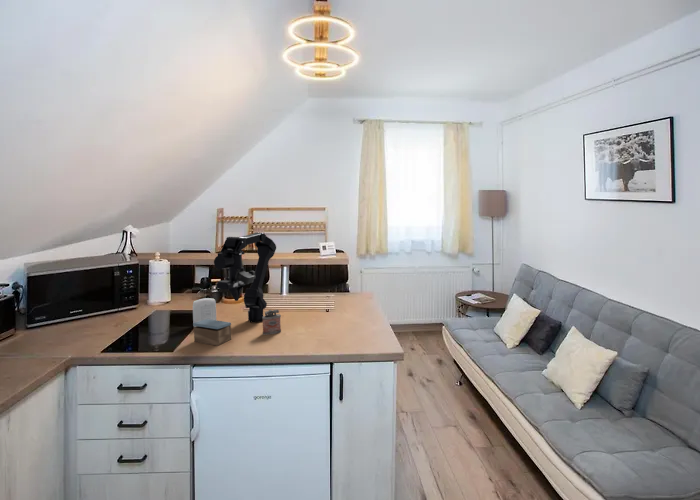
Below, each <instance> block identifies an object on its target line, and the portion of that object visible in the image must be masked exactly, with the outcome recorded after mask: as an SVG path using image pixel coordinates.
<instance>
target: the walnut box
mask: <svg viewBox="0 0 700 500" xmlns="http://www.w3.org/2000/svg"><path fill="white" fill-rule="evenodd" d="M231 325H232V324H231ZM231 325H229V326H226V327H223V328H220V329H212V328H206V327H199V326H196V327H194V326H193V339H194V342H195V343H198V344H205V345H211V346H216V347H218V346H221V345H223V344H226V343H228V342H229V341H231V340H232V332H231V331H232V328H231Z"/></svg>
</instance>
